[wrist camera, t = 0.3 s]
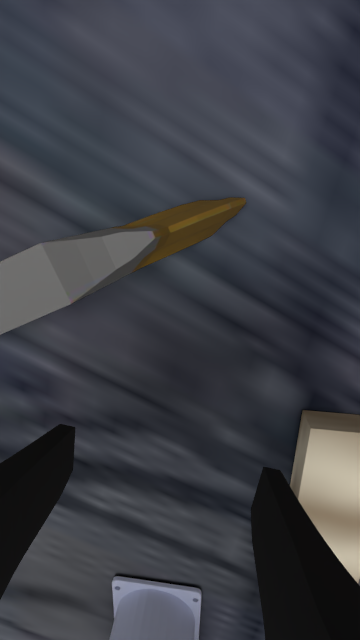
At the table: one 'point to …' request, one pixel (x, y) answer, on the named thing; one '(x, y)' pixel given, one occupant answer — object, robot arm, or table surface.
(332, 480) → the board
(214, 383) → the table surface
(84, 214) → the table surface
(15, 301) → the gun
